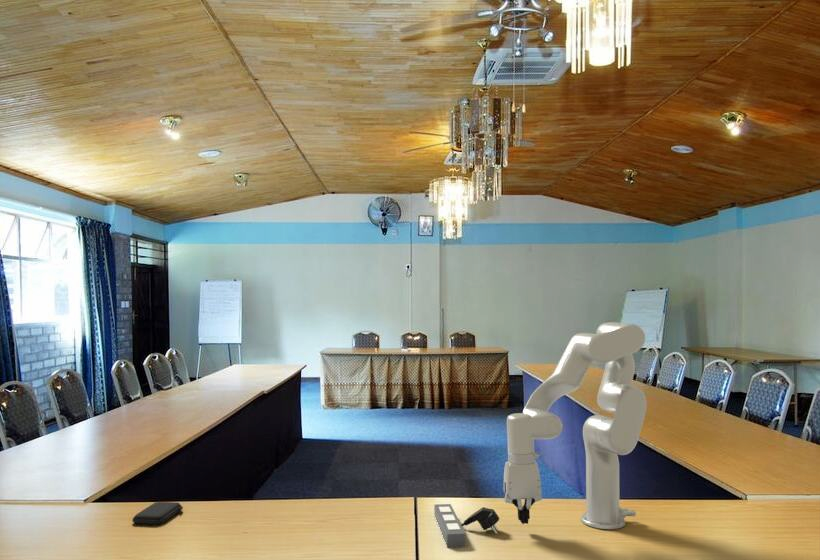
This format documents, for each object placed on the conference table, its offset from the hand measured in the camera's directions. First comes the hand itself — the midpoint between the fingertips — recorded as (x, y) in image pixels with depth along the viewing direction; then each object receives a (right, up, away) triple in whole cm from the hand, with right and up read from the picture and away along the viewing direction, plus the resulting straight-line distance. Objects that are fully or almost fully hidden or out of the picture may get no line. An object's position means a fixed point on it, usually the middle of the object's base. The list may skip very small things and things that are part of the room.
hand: (523, 521), depth 176 cm
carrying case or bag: (-109, -4, +11) cm, 110 cm away
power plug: (-13, -3, +1) cm, 14 cm away
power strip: (-21, -3, +1) cm, 22 cm away
